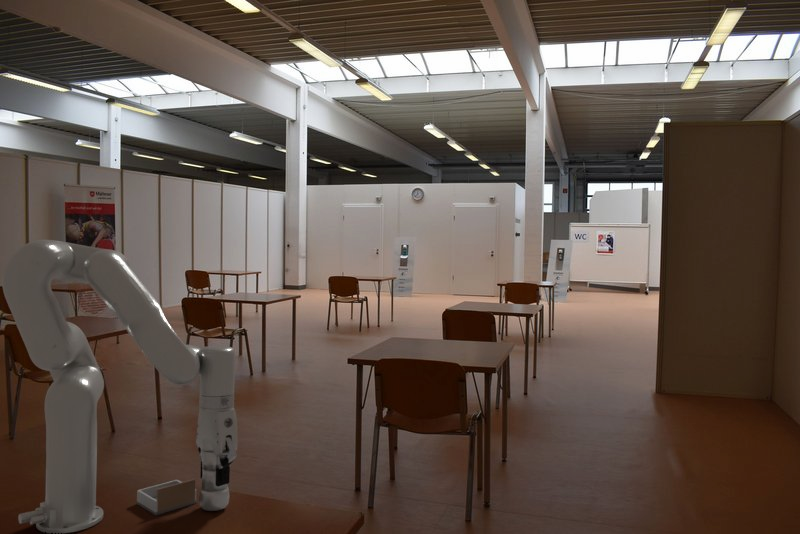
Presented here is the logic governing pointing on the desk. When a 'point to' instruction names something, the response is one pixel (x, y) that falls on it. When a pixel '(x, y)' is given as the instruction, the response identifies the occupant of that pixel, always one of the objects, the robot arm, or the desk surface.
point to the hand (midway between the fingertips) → (214, 480)
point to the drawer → (167, 496)
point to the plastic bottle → (211, 480)
